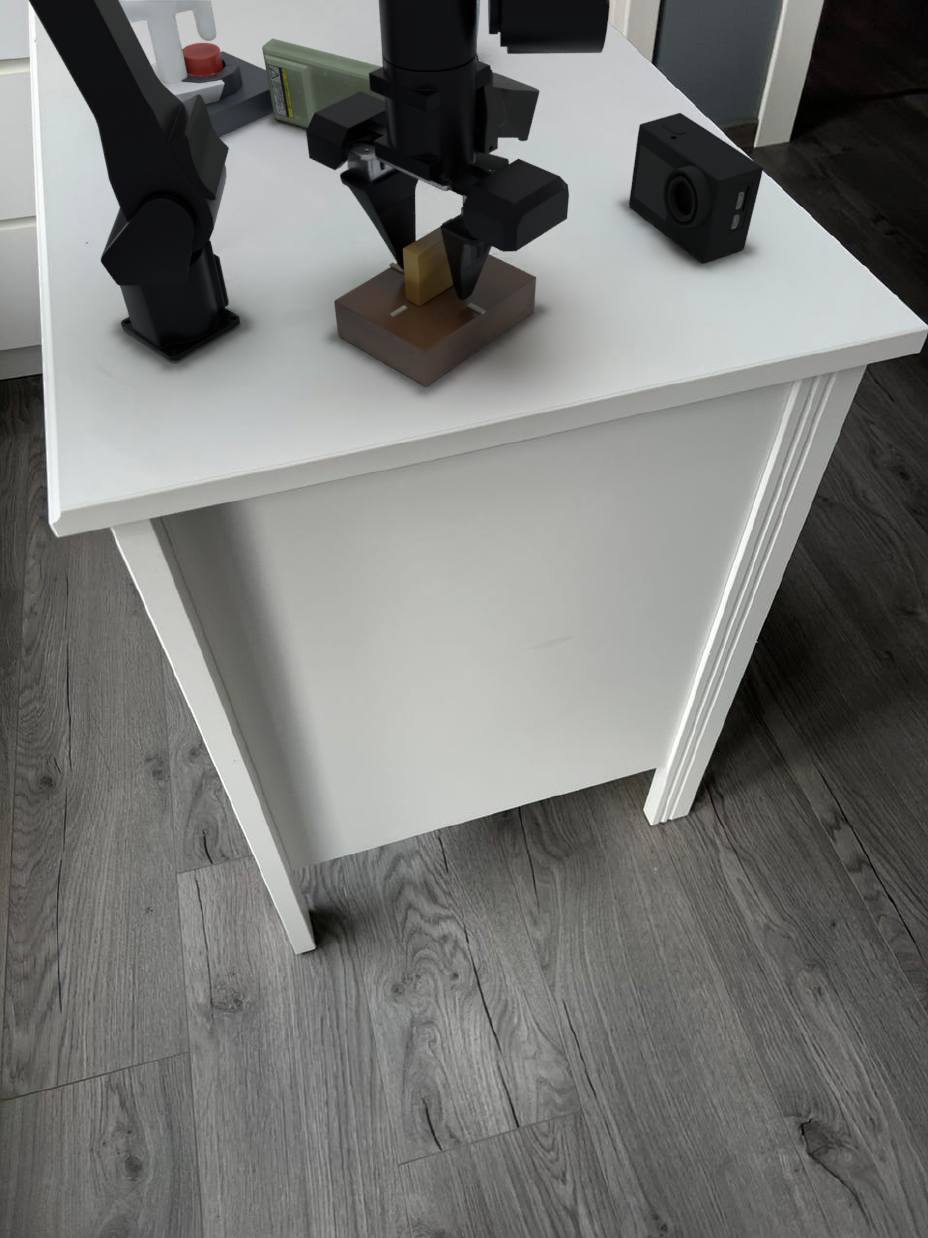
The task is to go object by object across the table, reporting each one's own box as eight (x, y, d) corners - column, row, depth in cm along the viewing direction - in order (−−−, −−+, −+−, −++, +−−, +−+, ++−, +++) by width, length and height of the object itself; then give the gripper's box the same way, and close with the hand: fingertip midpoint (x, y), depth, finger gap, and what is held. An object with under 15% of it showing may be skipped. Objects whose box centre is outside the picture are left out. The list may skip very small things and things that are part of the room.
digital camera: (615, 208, 85) (625, 125, 79) (667, 192, 87) (680, 110, 81) (690, 268, 79) (706, 183, 74) (744, 249, 81) (763, 165, 75)
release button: (201, 82, 92) (197, 62, 91) (176, 70, 94) (172, 50, 92) (231, 69, 94) (227, 49, 93) (207, 58, 95) (203, 38, 94)
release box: (195, 148, 92) (185, 103, 89) (129, 114, 96) (118, 71, 93) (292, 103, 97) (286, 59, 94) (226, 73, 101) (219, 30, 98)
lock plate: (427, 387, 70) (425, 350, 68) (336, 335, 74) (332, 297, 71) (535, 312, 76) (537, 275, 73) (446, 267, 79) (445, 230, 77)
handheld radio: (290, 107, 97) (516, 171, 89) (269, 122, 95) (498, 189, 87) (278, 33, 91) (517, 95, 83) (256, 48, 90) (498, 112, 82)
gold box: (419, 306, 71) (417, 252, 68) (405, 299, 72) (402, 244, 68) (466, 276, 73) (466, 222, 70) (452, 269, 74) (451, 215, 71)
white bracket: (243, 120, 95) (211, -63, 83) (146, 144, 92) (99, -42, 80) (216, 91, 99) (181, -88, 87) (122, 113, 96) (74, -69, 84)
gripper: (635, 52, 60) (606, 283, 72) (410, -26, 67) (419, 194, 80) (515, 117, 55) (506, 354, 67) (286, 24, 62) (316, 252, 75)
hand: (435, 282), depth 72 cm, fingers open, 5 cm apart
